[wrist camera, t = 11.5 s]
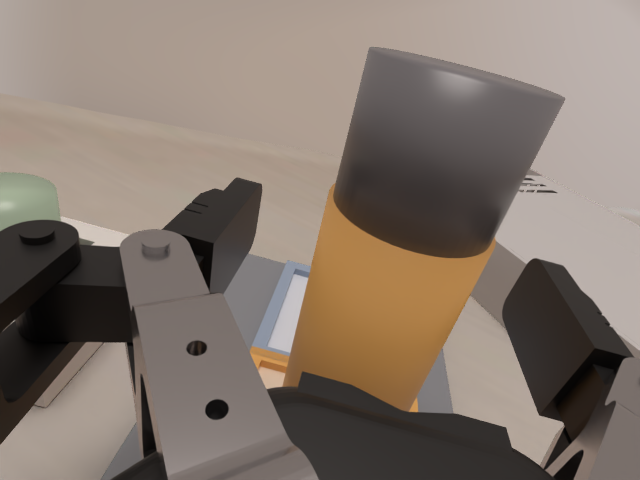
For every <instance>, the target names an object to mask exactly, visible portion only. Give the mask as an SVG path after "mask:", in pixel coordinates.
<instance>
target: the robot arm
mask: <svg viewBox="0 0 640 480" xmlns="http://www.w3.org/2000/svg"><path fill="white" fill-rule="evenodd" d="M261 195H262V184H260V183H256V182H252V181H248V180H245V179H241V178H235V179H234V180H233V181H232V182H231V183H230V184H229V186H228V187H227V188H226V189H225V190H224V191H222V190H219V189H212V190H209V191H206V192H204V193H201V194H200V195H199V196H197V197H196V198H195V199H194V200H193V201H192V203H190V204H189V205H188V206H187V207H186V208H185V209H184V210H182V211H181V212H180V213H179V214H178V215H177V216H176V217H175V218H174V219H173V220H172V221H171V222H169V223H168V224H167V225H166V226H165V227H164V228H163V229H162V230H158V229H152V230H143V231H139V232H136V233H133V234H131V235H129V236H127V237H126V238H125V239H124V240H123V241H122V242H121V244H120V247H110V246H95V245H80V241H79V233H78V231H77V229H76V228H75V227H73V226H72V225H70V224H68V223H65V222H61V221H56V220H32V221H26V222H21V223H17V224H14V225H12V226H9V227H7V228H5V229H3V230H2V231H0V444H1V443H2V442H3V441H4V440H5V438H6V437H7V436H8V435H9V434H10V432H11V431H12V430H13V429H14V428H15V426H16V425H17V424H18V423H19V422H20V420H21V419H22V418H23V417H24V416H25V414H26V413H27V412H28V411H29V410H30V409H31V407H32V406H33V405H34V404H35V403H36V401H37V400H38V399H39V398H40V397H41V395H42V394H43V393H44V392H45V391H46V389H47V388H48V387H49V386H50V385H51V383H52V382H53V381H54V380H55V379H56V377H57V376H58V375H59V374H60V373H61V371H62V370H63V369H64V368H65V367H66V365H67V364H68V363H69V362H70V361H71V359H72V358H73V357H74V356H75V355H76V354H77V352H78V351H79V350H80V349H81V348H82V346H83V345H84V344H85V343H86V342H125V346H126V352H127V359H128V365H129V372H130V378H131V384H132V391H133V397H134V403H135V411H136V419H137V429H138V439H139V447H140V454H141V460H140V461H139V462H137V463H136V464H134V465H132V466H131V467H129V468H128V469H126V470H124V471H123V472H121V473H120V474H118V475H116V476H115V477H113V478H112V479H110V480H640V359H639V358H635V357H634V356H633V355H632V353H631V352H630V350H629V349H628V348H627V346H626V345H625V344H624V342H623V341H622V340H621V338H620V337H619V335H618V334H617V333H616V331H615V330H614V329H613V327H610V323H609V322H608V320H607V319H606V318H605V316H603V315H602V312H601V311H600V309H599V308H598V307H597V305H596V304H595V302H594V301H593V300H592V299H591V298H590V297H589V296H588V295H586V294H585V293H584V292H583V291H582V290H581V289H580V288H579V286H578V285H577V283H576V282H575V281H574V279H573V278H572V276H571V275H570V274H569V272H568V271H567V269H566V268H565V267H564V266H563V265H560V264H556V263H552V262H549V261H545V260H541V259H537V258H534V259H532V260H530V261H529V262H528V263H527V265H526V266H525V268H524V269H523V271H522V273H521V274H520V276H519V278H518V279H517V281H516V283H515V284H514V286H513V288H512V289H511V291H510V293H509V294H508V296H507V298H506V299H505V302H504V305H503V309H502V319H503V322H504V324H505V327H506V330H507V332H508V335H509V337H510V340H511V343H512V345H513V348H514V351H515V353H516V356H517V358H518V361H519V364H520V366H521V369H522V372H523V374H524V377H525V379H526V382H527V385H528V387H529V390H530V393H531V395H532V398H533V400H534V403H535V406H536V408H537V411H538V413H539V415H540V416H544V417H547V418H551V419H555V420H558V421H562V422H563V423H564V426H563V427H562V428H561V429H560V430H559V431H558V433H557V434H556V435H555V437H554V439H553V441H552V443H551V445H550V447H549V449H548V450H547V452H546V454H545V456H544V458H543V460H542V462H541V464H540V466H539V465H538V464H537V463H535V462H534V461H533V460H531V459H530V458H528V457H527V456H525V455H524V454H522V453H520V452H519V451H517V450H515V449H513V448H512V447H511V443H510V440H509V436H508V433H507V429H506V427H502V426H498V425H495V424H491V423H488V422H484V421H480V420H477V419H473V418H470V417H466V416H462V415H459V414H453V413H428V412H407V411H403V410H400V409H398V408H396V407H394V406H392V405H390V404H388V403H386V402H384V401H382V400H380V399H378V398H377V397H375V396H373V395H371V394H369V393H367V392H365V391H363V390H361V389H359V388H357V387H355V386H353V385H351V384H347V383H343V382H340V381H336V380H333V379H329V378H325V377H322V376H318V375H315V374H311V373H307V372H304V371H302V373H301V377H300V380H299V384H298V387H292V386H286V387H275V388H269V389H266V387H265V385H264V383H263V381H262V378H261V376H260V374H259V372H258V370H257V367H256V365H255V363H254V361H253V359H252V356H251V354H250V352H249V350H248V347H247V345H246V343H245V341H244V339H243V336H242V334H241V332H240V330H239V328H238V325H237V323H236V321H235V319H234V316H233V314H232V312H231V310H230V308H229V305H228V303H227V301H226V299H225V297H224V295H223V294H224V292H225V291H226V289H227V287H228V286H229V284H230V282H231V281H232V279H233V277H234V276H235V274H236V272H237V271H238V269H239V267H240V266H241V264H242V262H243V261H244V259H245V257H246V256H247V254H248V252H249V251H250V249H251V246H252V244H253V241H254V237H255V233H256V228H257V221H258V215H259V208H260V202H261ZM14 320H15V321H14ZM13 321H14V322H13ZM12 322H13V323H12ZM11 323H12V324H11ZM6 327H7V328H6ZM5 328H6V329H5ZM4 329H5V330H4ZM3 330H4V331H3ZM2 331H3V332H2Z"/></svg>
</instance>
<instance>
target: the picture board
mask: <svg viewBox="0 0 640 480" xmlns="http://www.w3.org/2000/svg"><path fill="white" fill-rule="evenodd" d="M310 269H311V266H307V265H303V264H300V263H296V262H292V261H288V260H287V263H286V264H284V263H281V262H277V261H273V260H270V259H266V258H262V257H259V256H255V255H251V254H247V256H246V257H245V259H244V261H243V262H242V264H241V266H240V267H239V269H238V271H237V272H236V274H235V276H234V277H233V279H232V281H231V282H230V284H229V286H228V287H227V289H226V291H225V292H224V294H223V295H224V297H225V299H226V301H227V303H228V305H229V308H230V310H231V312H232V314H233V316H234V319H235V321H236V323H237V325H238V328H239V330H240V332H241V334H242V336H243V339H244V341H245V343H246V345H247V347H248V350H249V352H250V354H251V356H252V359H253V361H254V363H255V365H256V367H257V370H258V372H259V374H260V376H261V378H262V381H263V383H264V385H265V387H266V389H269V388H275V387H282V385H283V381H284V377H285V373H286V368H287V364H288V360H289V356H290V352H291V348H292V344H293V339H294V335H295V331H296V327H297V323H298V319H299V314H300V310H301V306H302V302H303V298H304V294H305V290H306V285H307V281H308V277H309V273H310ZM409 412H428V413H453V408H452V402H451V396H450V390H449V384H448V378H447V372H446V366H445V360H444V354H443V348H442V349H441V351H440V353H439V355H438V357H437V359H436V361H435V363H434V365H433V367H432V369H431V370H430V372H429V374H428V376H427V378H426V380H425V382H424V384H423V386H422V388H421V390H420V391H419V393H418V395H417V397H416V399H415V401H414V403H413V405H412V407H411V409H410V411H409ZM140 460H141V454H140V447H139V439H138V429H137V422H136V424H135V425H134V427H133V428H132V430H131V432H130V433H129V435H128V436H127V438H126V440H125V441H124V443H123V444H122V446H121V448H120V449H119V451H118V452H117V454H116V456H115V457H114V459H113V460H112V462H111V464H110V465H109V467H108V468H107V470H106V472H105V473H104V475H103V476H102V478H101V480H110V479H112V478H113V477H115V476H116V475H118V474H120V473H121V472H123V471H124V470H126V469H128V468H129V467H131V466H132V465H134V464H136V463H137V462H139V461H140Z"/></svg>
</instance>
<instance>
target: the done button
mask: <svg viewBox="0 0 640 480" xmlns="http://www.w3.org/2000/svg"><path fill="white" fill-rule="evenodd" d="M32 220H56V221H61V217H60V210H59V203H58V197H57V190H56V187H55V185H54V184H53V183H51V182H50V181H48V180H46V179H44V178H41V177H38V176H34V175H30V174H23V173H7V172H4V173H0V231H2V230H3V229H5V228H7V227H9V226H12V225H14V224H17V223H21V222H26V221H32Z"/></svg>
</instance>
